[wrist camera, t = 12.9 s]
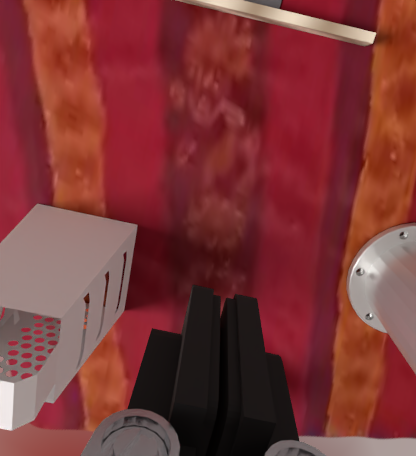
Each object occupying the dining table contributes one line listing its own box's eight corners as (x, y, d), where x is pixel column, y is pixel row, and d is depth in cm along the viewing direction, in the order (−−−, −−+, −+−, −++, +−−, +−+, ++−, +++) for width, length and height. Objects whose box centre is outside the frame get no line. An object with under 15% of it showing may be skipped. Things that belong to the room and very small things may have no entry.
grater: (124, 310, 44) (48, 477, 25) (31, 291, 43) (-117, 446, 24) (137, 224, 40) (61, 343, 21) (37, 203, 40) (-131, 304, 21)
